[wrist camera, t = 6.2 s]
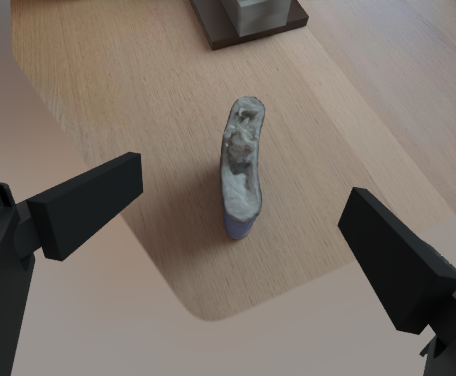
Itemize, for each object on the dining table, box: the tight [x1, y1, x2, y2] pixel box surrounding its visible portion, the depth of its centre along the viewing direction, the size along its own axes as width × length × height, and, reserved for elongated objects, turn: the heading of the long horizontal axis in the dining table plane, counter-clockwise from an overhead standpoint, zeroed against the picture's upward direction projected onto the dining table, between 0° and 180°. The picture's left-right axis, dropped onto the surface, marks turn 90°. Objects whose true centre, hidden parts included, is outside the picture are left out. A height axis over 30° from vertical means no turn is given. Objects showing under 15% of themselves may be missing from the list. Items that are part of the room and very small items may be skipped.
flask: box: [220, 96, 265, 239], centre depth 17 cm, size 9×3×11 cm, turn 175°
